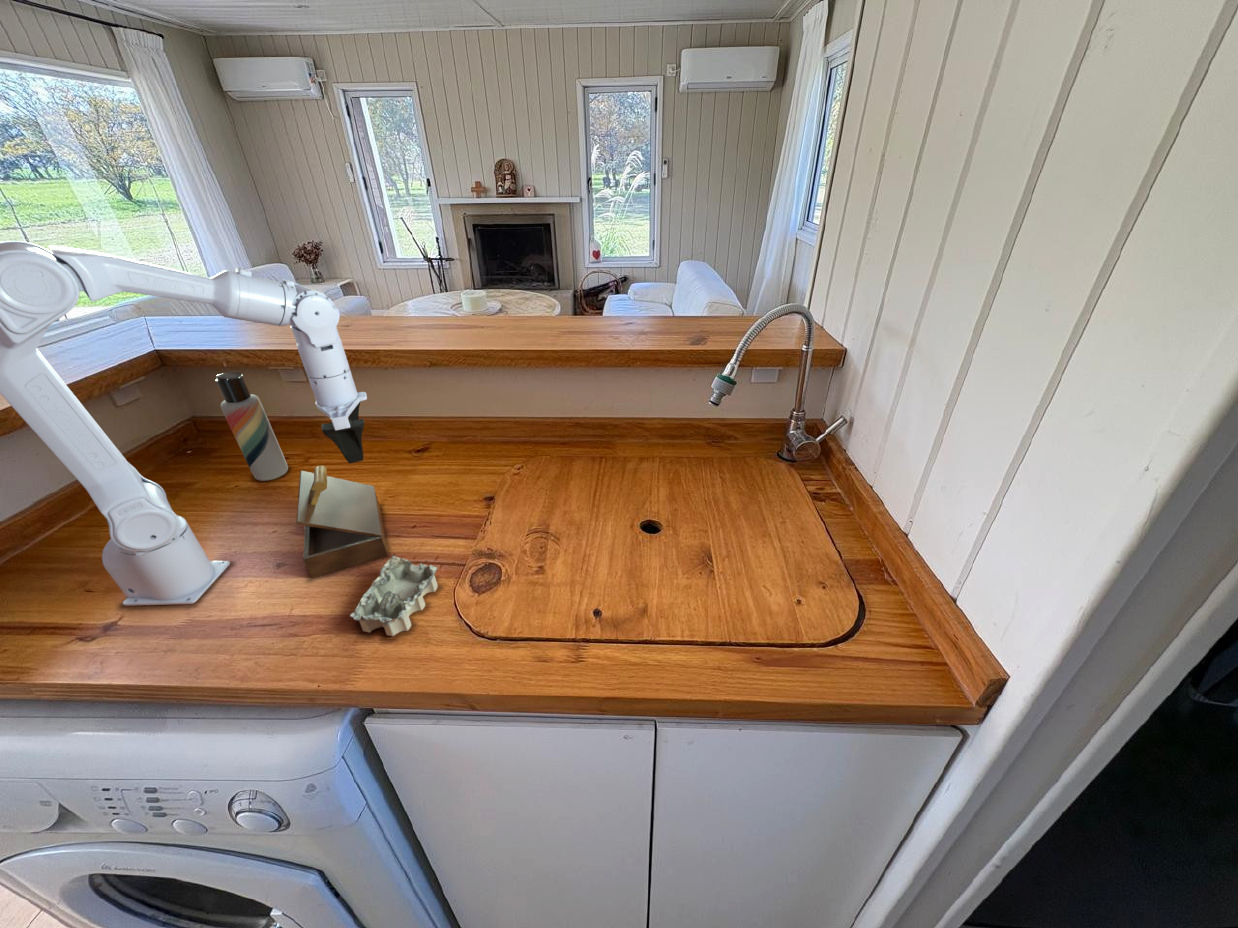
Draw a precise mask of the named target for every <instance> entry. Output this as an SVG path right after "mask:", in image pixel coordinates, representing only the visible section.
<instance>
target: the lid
mask: <svg viewBox="0 0 1238 928" xmlns="http://www.w3.org/2000/svg"><path fill="white" fill-rule="evenodd" d="M298 480H299V481H298V495H297V510H296V521H295V522H296V523H295V524H296V525H297V526H304V527H305V526H311V527H317V528H323V529H330V530H336V531H343V532H349V533H356V534H362V535H369V536H375V537H381V535H382V534H381V527H380V521H379V514H378V508H377V501H376V496H377V494H376V495H375V493H376V488H375V485H371V484H366V483H361V482H357V481H352V480H347V479H343V478H338V477H335V476H334V477H333V476H328V468H327V467H326V466H325V465H316V466H315V467H314V470H313V472H310V471H305V470H300V472H299V479H298Z"/></svg>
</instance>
